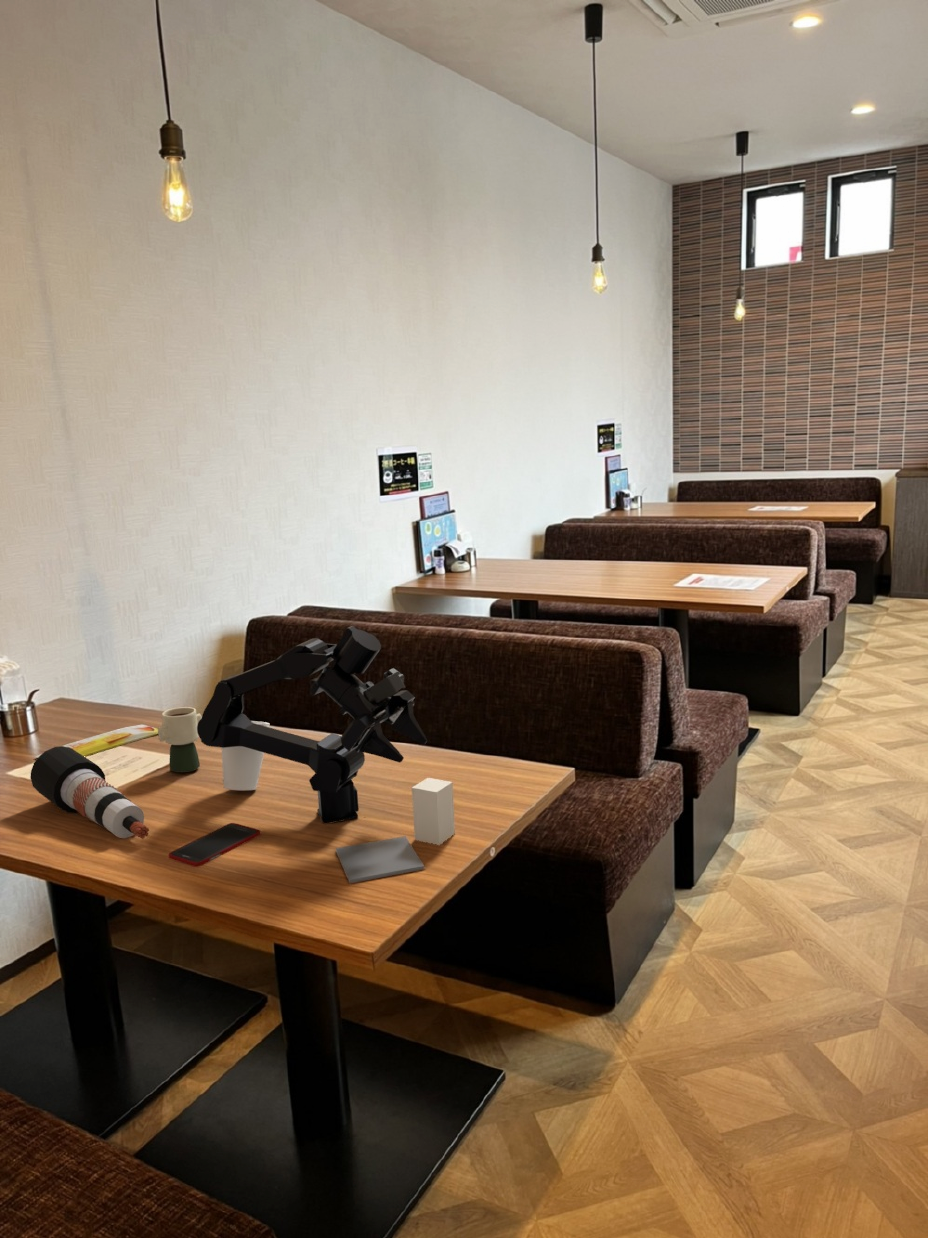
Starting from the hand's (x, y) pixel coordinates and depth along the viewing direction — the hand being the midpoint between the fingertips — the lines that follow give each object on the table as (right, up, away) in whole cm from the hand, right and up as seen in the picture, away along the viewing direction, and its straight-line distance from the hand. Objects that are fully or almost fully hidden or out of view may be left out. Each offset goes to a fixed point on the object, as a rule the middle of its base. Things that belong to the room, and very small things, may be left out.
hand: (414, 751), depth 162 cm
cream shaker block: (+4, -15, -2) cm, 15 cm away
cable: (-59, -15, +12) cm, 62 cm away
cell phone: (-34, -17, -1) cm, 38 cm away
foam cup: (-36, -11, +22) cm, 43 cm away
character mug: (-51, -9, +36) cm, 63 cm away
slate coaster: (-5, -16, -10) cm, 20 cm away
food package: (-76, -7, +55) cm, 94 cm away
